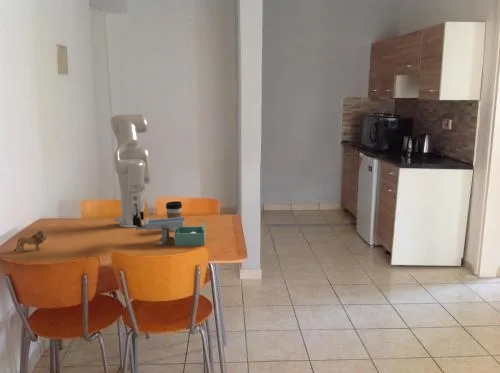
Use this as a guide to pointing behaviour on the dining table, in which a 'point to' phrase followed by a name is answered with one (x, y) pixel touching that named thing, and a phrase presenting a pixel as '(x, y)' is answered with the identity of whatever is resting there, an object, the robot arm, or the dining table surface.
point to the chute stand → (165, 237)
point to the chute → (161, 223)
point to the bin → (190, 236)
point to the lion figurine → (32, 240)
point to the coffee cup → (173, 211)
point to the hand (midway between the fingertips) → (138, 222)
